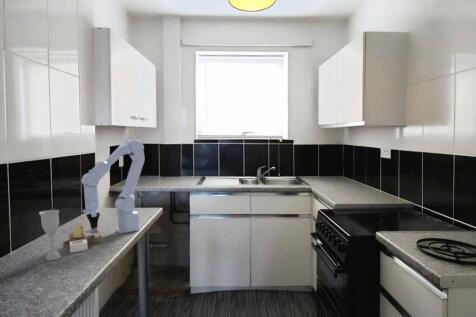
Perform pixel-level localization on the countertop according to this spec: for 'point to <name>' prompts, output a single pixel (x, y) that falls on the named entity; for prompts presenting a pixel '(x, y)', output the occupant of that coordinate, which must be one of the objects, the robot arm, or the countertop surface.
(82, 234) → the peg
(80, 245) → the white block with hole
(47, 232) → the chalice
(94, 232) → the bar
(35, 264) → the countertop surface
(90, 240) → the socket block
